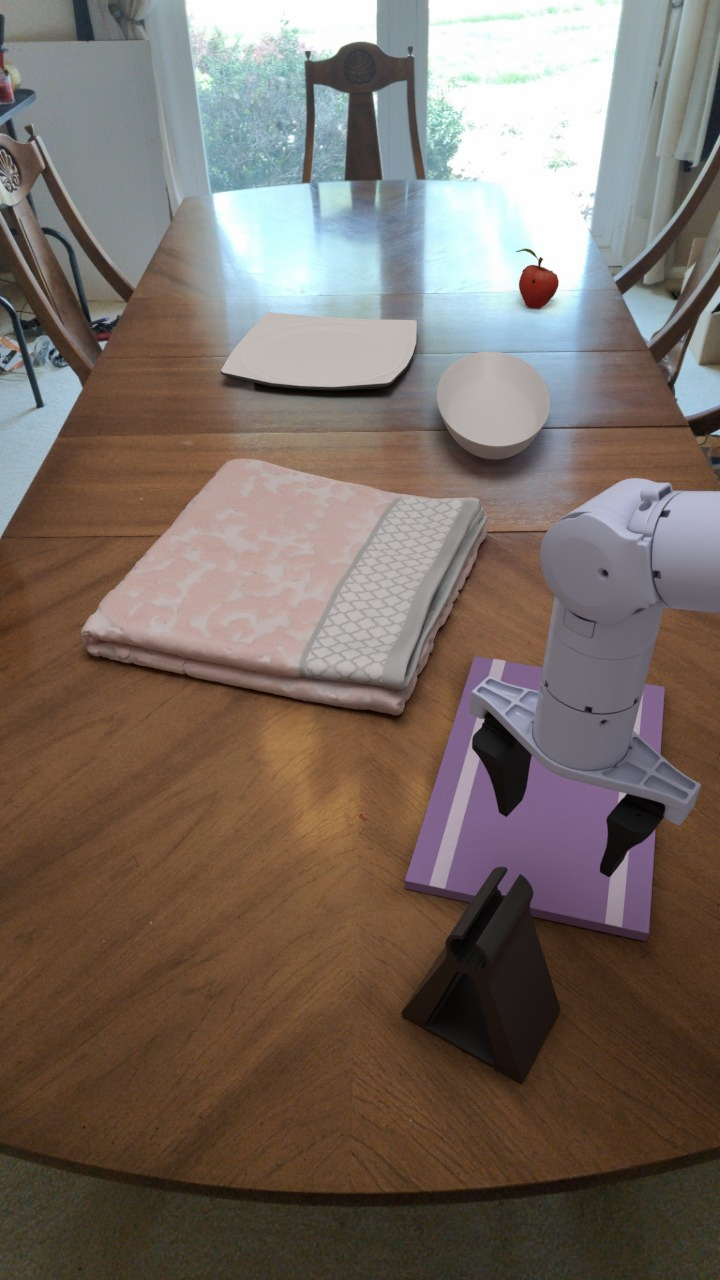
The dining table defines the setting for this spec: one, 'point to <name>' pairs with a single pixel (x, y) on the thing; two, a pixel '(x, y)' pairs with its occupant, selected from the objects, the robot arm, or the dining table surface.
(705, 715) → the dining table surface
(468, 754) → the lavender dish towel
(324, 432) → the dining table surface
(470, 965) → the phone stand
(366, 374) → the plate
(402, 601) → the towel
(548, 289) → the apple
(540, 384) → the bowl
